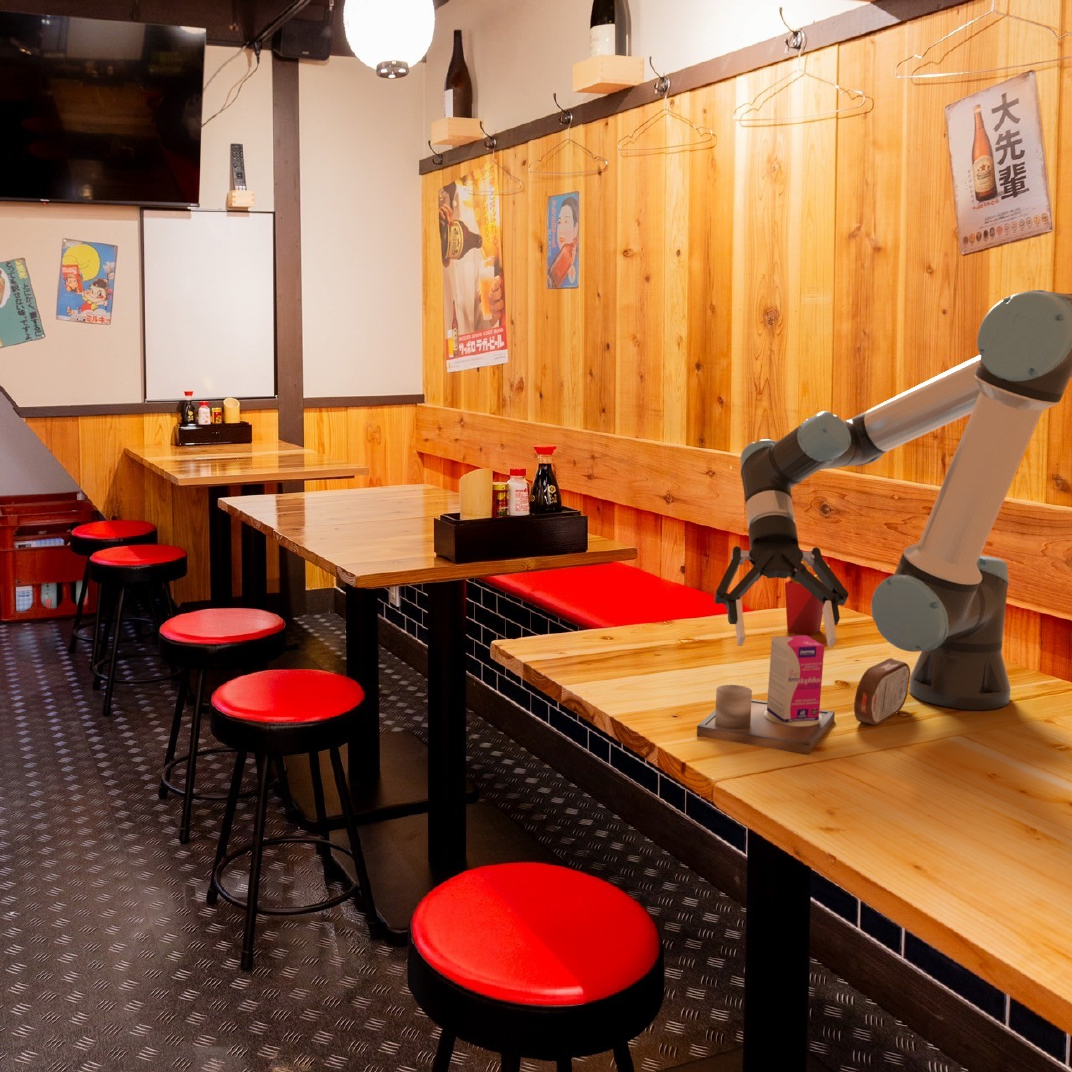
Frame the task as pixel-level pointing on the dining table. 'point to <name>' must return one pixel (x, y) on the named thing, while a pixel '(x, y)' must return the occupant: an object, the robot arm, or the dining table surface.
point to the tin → (881, 691)
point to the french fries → (802, 607)
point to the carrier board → (760, 723)
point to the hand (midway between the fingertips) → (786, 642)
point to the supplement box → (795, 678)
